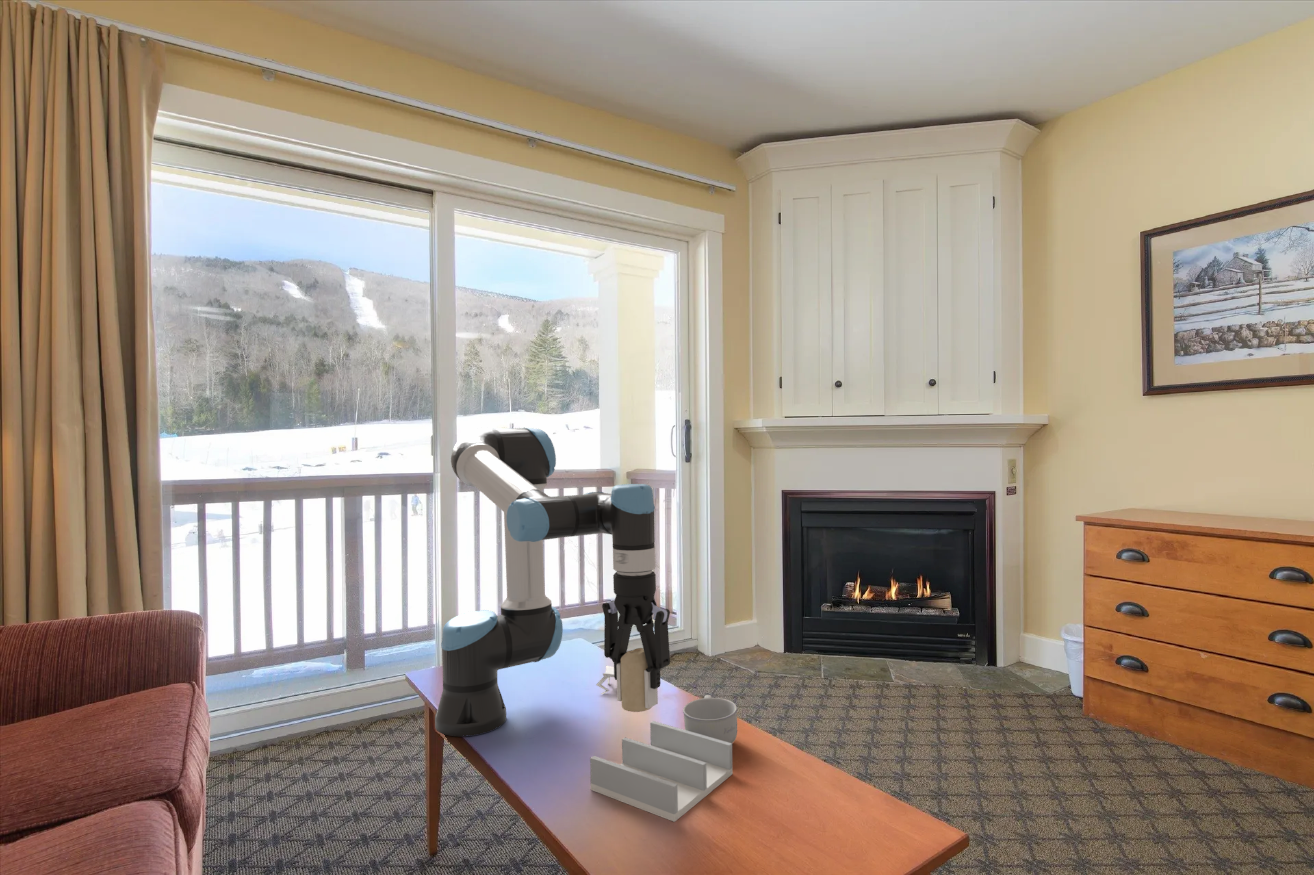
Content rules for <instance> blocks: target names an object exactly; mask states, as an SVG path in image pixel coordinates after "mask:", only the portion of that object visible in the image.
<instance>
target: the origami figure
mask: <svg viewBox="0 0 1314 875" xmlns="http://www.w3.org/2000/svg"><path fill="white" fill-rule="evenodd" d="M602 676H603V677H602V678H601V679H600V680H598V682H597V683H596V684H595V686H597V687H599V688H600V689H603V690H604V691H603V692H601V693H600V695H604V694H606V693H608V692H609V691H610V690H609V689H608V688H607V687H605V686H604V685H603V683H605V682H606V680H607V685H610V684H611V683H610V680H611V678H614V666H611V665H606V666H605V672H604V673H602Z"/></svg>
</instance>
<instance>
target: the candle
mask: <svg viewBox="0 0 1314 875" xmlns="http://www.w3.org/2000/svg"><path fill="white" fill-rule="evenodd" d="M647 668H648V666H647V661H646V657H645V653H644V649H643V647H638V648H634V649H633V650H627V653H625V654H624V655H623V656H622V658H621V695H622V701H621V707H622V709H623V710H624V711H626V712H630V713H631V712H633V713H640V712H641V713H642V712H646V711H649V710H650V709H652V708H653V707H651V708H649V709H648V708H645V680H644V670H646V669H647Z"/></svg>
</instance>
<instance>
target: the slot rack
mask: <svg viewBox="0 0 1314 875" xmlns="http://www.w3.org/2000/svg"><path fill="white" fill-rule="evenodd" d="M649 725H650V744H647V743H644V742H641V741H638V740H635V739H632V738H628V737H623V738H622V739H621V755H622V756H621V760H622V763H620V764H619V763H616V762H614V761H610V760H608V759H605V758H602V757H600V756H599V757H598V756H596V755H593V756H591V757H590V758H589V759H590V760H589V762H590V790H591V791H593V792H595V793H598V794H600V795H604V796H605V797H608V798H612V799H614V800H616V801H619V802H622V803H623V804H628V805H629V806H632V807H635V808H637V809H639V810H642V811H645V812H647V813H650V814H653V815H656V816H658V817H660V818H663V819H666V820H669V821H671V822H674V823H675V822H677V821H678V819H680V818H681V817H682V816H684V815H685V814H686V813H688V812H689V811H690V810H691V809H692V808H693V807H694V806H696V805H697V804H698V803H699V802H701V801H702V800H703V799H704V798H706V797H707V796H708V795H709V794H710V793H711V792H713V791H715V789H716V788H718V787H719V786H720V785H721V784H722V783H724V782H725V781H726V780H727V779H728V778H729V777H731V776H732V775H733V743H729V742H725V741H722V740H718V739H715V738H711V737H708V736H704V735H701V734H697V733H694V732H690V731H687V730H685V729H683V728H679V727H676V726H673V725H670V724H665V723H662V722H659V721H656V720H652V721H650V722H649Z"/></svg>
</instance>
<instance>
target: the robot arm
mask: <svg viewBox="0 0 1314 875" xmlns="http://www.w3.org/2000/svg"><path fill="white" fill-rule="evenodd" d="M451 451H452V452H451V456H450V463H451V468H452V472H453V473H454V474H455V476H456V477H457V478H458V479H459V480H460V481H461V482H462V483H463V484H465V485H466V486H469V487H474V488H476V489H477V490H479V491H480V492H481V493H482V494H483V495H485V497H486V498H488V500H490V501H491V502H492V503H494V504H495V506H496V507H497V508H499V509H500V510H501V511H502V512H503V520H504V522H503V523H504V547H505V548H504V549H505V550H504V551H505V554H504V555H505V574H506V576H505V577H506V578H505V579H506V599H504V601H503V602H502V603H501V604H500V614H499V615H497V614H496V613H495V611H492V610H487V609H486V610H485V609H482V610H474V611H468V612H465V613H461V614H459V615H456V616H454V617H452V618H450V619H449V620H448V621H447V622H446V623H445V624H444V626H443V628H442V635H441V636H442V638H441V639H442V640H441V644H440V645H441V647H440V648H441V650H442V651H441V652H442V655H441V656H442V657H441V658H442V660H441V661H442V693H441V697H440V700H439V704H438V706H437V707H438V708H437V710H436V713H435V715H434V716H435V717H434V727H435V730H436V731H437V732H438V733H440V734H442V735H445V736H450V737H472V736H479V735H482V734H483V735H484V734H485V733H489V732H491V731H494V730H496V729H498V728H500V727H501V726H503V725H504V724H505V722H506V721H507V709H506V708H507V707H506V704H505V703H504V699H503V698H504V697H503V696H502V692H501V691H500V688H499V684H498V671H499V670H502V669H508V668H512V667H516V666H521V665H526V664H529V663H538V662H540V661H543V660H546V659H549V658H551V657H553V656H554V655H555V654H556V653H557V652H558V650H559V648H560V646H561V644H562V639H563V631H564V630H563V628H564V627H563V621H562V619H561V613H560V611H559V609H557V608H556V607H554V606H552V600H551V599H550V598H549V597H547V595H546V594H545V573H544V569H545V568H544V547H543V546H544V545H543V541H546V540H552V539H553V540H554V539H561V538H562V539H563V538H569V537H570V538H571V537H579V536H589V535H597V534H605V535H606V534H607V535H611V537H612V563H613V564H612V565H613V566H612V567H613V568H612V569H613V570H614V571H615V573H614V574H613V575H612V576H613V578H612V579H613V580H612V581H613V593H614V594H615V598H614V600H609V601H607V602H604V603H602V605H601V608H602V612H603V615H604V631H603V632H604V634H603V635H604V642H603V644H604V645H603V649H604V652H603V654H604V657H605V658H607V659H610V660H612V663H613V667H614V677H613V678H614V680H615V681H616V697H617V698H616V700H617V702H622V695H621V658H622V656H623V655H624V654H625V653H627V652H628V648H629V647H628V646H629V643H630V638H631V633H632V628H633V626H635V627H636V631H637V632H638V633H639V635H640V641H641V645H642V649H643V650H644V653H645V657H646V661H647V666H648V668H647V669H646V670H644V680H645V708H648V709H649V708H650V709H652V708H653V707H654V706H656V705H658V703H659V697H658V688H660V686H661V669H663V668H665V667H667V666H669V665H670V664H671V659H670V658H671V655H670V640H669V638H670V637H669V624H668V623H669V618H670V614H671V611H670V609H669V608H665V609H663V608H661V607H659V606H657V605H658V604H657V602H656V600H655V594H656V591H657V580H656V576H657V575H656V573H655V572H654V569H655V570H656V566H657V565H656V546H655V543H656V542H655V541H656V538H655V529H656V528H655V508H656V506H655V503H654V491H653V488H652V486H650V485H649V484H647V483H640V484H639V483H624V484H616V485H614V486H613V487H612V488H611V493H608V492H607V493H606V492H603V491H592V492H586V493H584V494H575V495H560V496H559V495H557V496H549V495H548V494H546V493H545V492H543V490H544V488H545V487H546V486H547V485H548V483H547V482H548V480H547V478H549V477H551V476H552V475H553V474H554V472H555V469H556V465H557V456H556V450H555V446H554V443H553V442H552V440H551V438H550V436H549V435H548V433H546V432H545V431H544V430H542V429H539V428H534V427H533V428H532V427H517V428H516V427H515V428H513V427H510V428H507V427H506V428H503V427H502V428H488V427H487V428H480V429H478V428H477V429H475V430H472V431H470V432H468V433H466V434H465V435H463V436H462V437H461V438H460V439H459V440H458V441H457V442H456V443H455V444H454V447H453V449H452V450H451ZM651 707H652V708H651ZM650 709H649V710H650Z"/></svg>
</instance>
